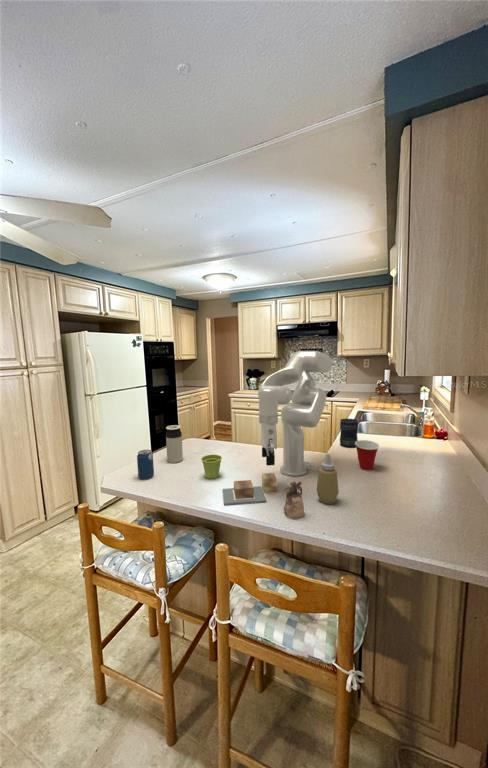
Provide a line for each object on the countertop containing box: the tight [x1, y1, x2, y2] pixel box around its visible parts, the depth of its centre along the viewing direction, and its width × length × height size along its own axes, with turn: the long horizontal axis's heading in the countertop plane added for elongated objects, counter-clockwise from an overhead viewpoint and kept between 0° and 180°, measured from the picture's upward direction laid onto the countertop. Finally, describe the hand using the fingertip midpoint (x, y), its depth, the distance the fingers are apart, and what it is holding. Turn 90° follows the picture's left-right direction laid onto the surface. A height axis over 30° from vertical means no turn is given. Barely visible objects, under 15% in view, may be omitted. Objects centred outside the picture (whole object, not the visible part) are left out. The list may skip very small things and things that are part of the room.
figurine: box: [283, 480, 305, 520], centre depth 108 cm, size 7×7×12 cm
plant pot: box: [200, 454, 223, 480], centre depth 140 cm, size 9×9×9 cm
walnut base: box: [233, 479, 254, 499], centre depth 121 cm, size 7×7×4 cm
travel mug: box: [165, 424, 184, 464], centre depth 160 cm, size 8×8×18 cm
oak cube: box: [261, 472, 277, 494], centre depth 126 cm, size 5×5×6 cm
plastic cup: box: [355, 439, 380, 471], centre depth 146 cm, size 11×11×12 cm
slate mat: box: [222, 485, 267, 506], centre depth 121 cm, size 16×12×1 cm
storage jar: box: [339, 418, 359, 449], centre depth 179 cm, size 10×10×15 cm
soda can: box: [136, 449, 155, 480], centre depth 141 cm, size 7×7×12 cm
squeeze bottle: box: [316, 453, 340, 505], centre depth 116 cm, size 8×8×18 cm
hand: (268, 460), depth 124 cm, fingers open, 9 cm apart
